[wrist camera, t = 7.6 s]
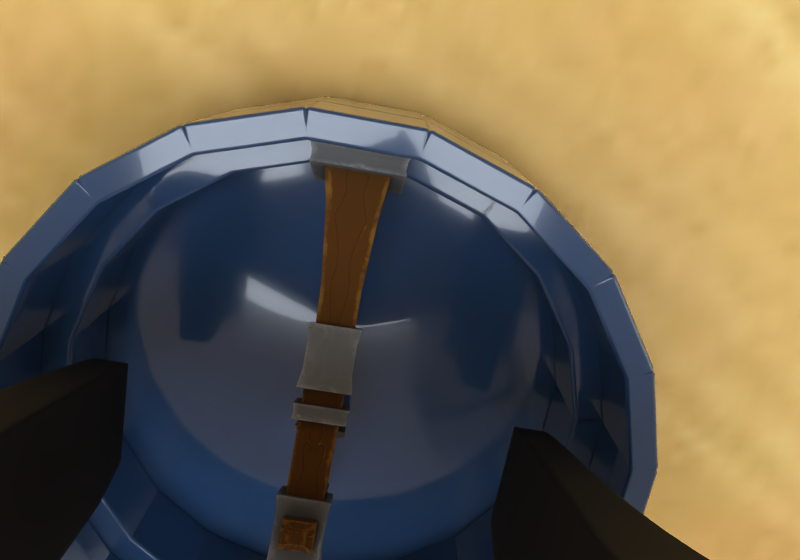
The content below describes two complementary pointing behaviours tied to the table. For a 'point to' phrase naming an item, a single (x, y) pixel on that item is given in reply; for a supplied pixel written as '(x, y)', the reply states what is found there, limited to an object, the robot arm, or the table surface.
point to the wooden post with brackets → (331, 339)
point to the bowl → (297, 305)
